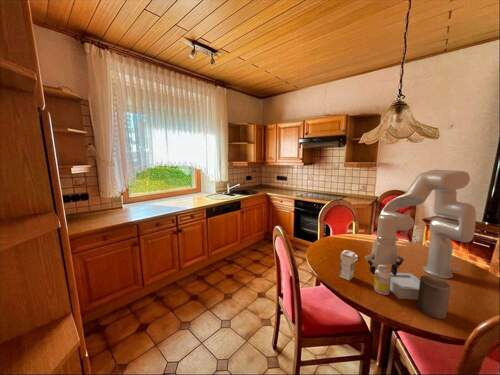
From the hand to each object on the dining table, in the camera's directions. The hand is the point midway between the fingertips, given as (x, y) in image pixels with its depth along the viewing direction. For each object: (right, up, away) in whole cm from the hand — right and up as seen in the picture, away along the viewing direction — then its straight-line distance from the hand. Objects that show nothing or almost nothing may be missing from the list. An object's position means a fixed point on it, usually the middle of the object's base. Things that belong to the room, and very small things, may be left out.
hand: (382, 273), depth 101 cm
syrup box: (-12, -8, +14) cm, 20 cm away
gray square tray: (+12, -9, +2) cm, 15 cm away
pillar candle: (+13, -11, -12) cm, 21 cm away
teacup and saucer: (+4, -5, +33) cm, 33 cm away
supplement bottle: (0, -10, +1) cm, 10 cm away
